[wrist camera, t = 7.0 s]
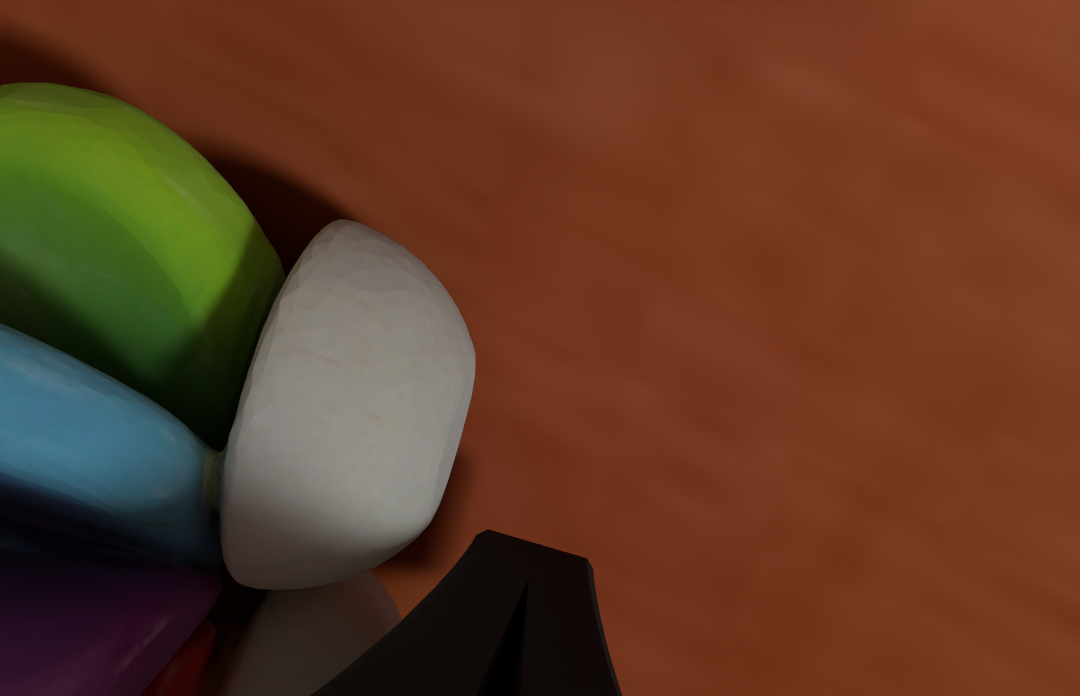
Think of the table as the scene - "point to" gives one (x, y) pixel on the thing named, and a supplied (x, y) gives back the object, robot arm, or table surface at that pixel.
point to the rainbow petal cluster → (200, 418)
